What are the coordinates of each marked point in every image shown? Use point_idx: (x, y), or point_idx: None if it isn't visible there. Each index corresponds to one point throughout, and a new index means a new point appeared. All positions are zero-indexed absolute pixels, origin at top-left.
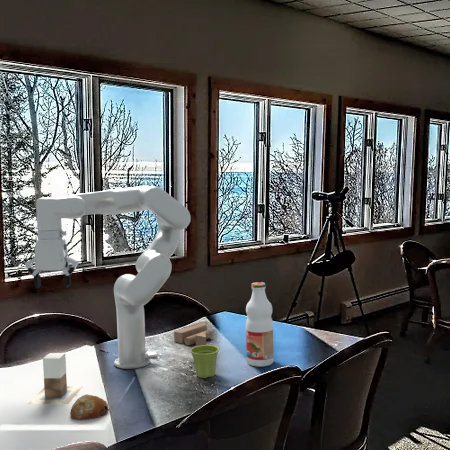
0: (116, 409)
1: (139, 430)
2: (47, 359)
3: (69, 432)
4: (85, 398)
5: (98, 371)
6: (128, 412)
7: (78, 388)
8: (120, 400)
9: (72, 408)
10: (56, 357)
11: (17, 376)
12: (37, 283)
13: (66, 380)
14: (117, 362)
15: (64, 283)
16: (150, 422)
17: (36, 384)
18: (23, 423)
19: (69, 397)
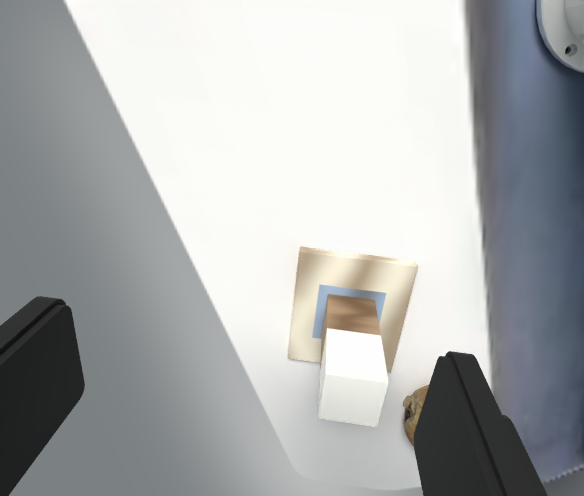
0: (509, 386)
1: (548, 472)
2: (334, 418)
3: (407, 458)
4: None
5: (461, 84)
6: (536, 403)
7: (405, 281)
8: (524, 341)
9: (413, 445)
10: (364, 417)
11: (160, 106)
12: (49, 439)
13: (377, 320)
14: (556, 14)
15: (424, 493)
16: (579, 450)
17: (257, 195)
18: (304, 414)
19: (387, 336)
